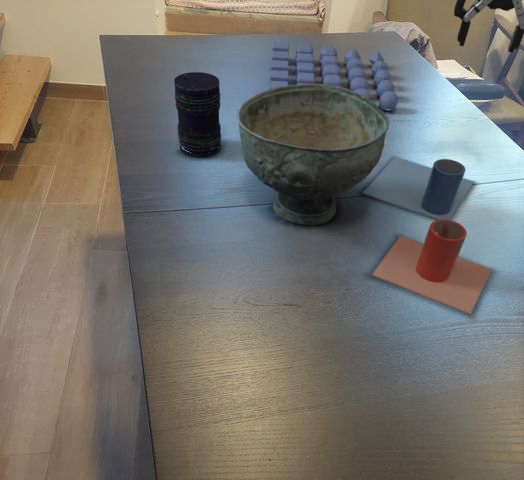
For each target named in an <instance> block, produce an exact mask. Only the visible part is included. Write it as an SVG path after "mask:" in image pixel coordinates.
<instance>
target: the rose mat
mask: <svg viewBox="0 0 524 480" xmlns="http://www.w3.org/2000/svg"><path fill="white" fill-rule="evenodd" d="M423 244H424V243H423V242H422V243H421V242H419V241H416V240H414V239H410V238H408V237H405V236H403V235H399V237H398V238H397V240H396V241H395V243H394V244H393V245H392V246H391V248H390V249H389V251H388V252H387V254H386V255H385V256H384V257H383V259H382V260H381V262H380V263H379V264H378V266H377V267H376V268H375V270H374V271H373V273H372V274H371V277H374V278H377V279H379V280H381V281H384V282H386V283H389V284H391V285H394V286H396V287H399V288H402V289H404V290H406V291H409V292H412V293H414V294H416V295H419V296H422V297H424V298H427V299H429V300H431V301H434V302H437V303H439V304H441V305H444V306H446V307H449V308H450V309H454V310H457V311H459V312H461V313H463V314H466V315H469V316H470V315H472V312H473V310H474V308H475V306H476V304H477V302H478V300H479V297H480V295H481V293H482V291H483V290H484V288H485V285H486V283H487V281H488V279H489V277H490V274H491V273H492V271H493V269H492V268H490V267H487V266H485V265H483V264H482V265H481V264H479V263H476V262H474V261H472V260H469V259H465V258H463V257H460V256H458V257H457V260H456V262H455V265H454V267H453V270H452V272H451V274H450V277H449V278H448V279H447V280H446V281H443V282H431V281H428V280H425V279H423V278H422V277H420V276H419V275H418V274H417V272H416V264H417V262H418V259H419V256H420V253H421V250H422V247H423Z"/></svg>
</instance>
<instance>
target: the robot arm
mask: <svg viewBox="0 0 524 480" xmlns="http://www.w3.org/2000/svg"><path fill="white" fill-rule="evenodd" d="M522 1H523V0H475V1H474V2H473V3H472V4H471V5H470V6H469V7H468V8H467V9H466V8H464V7H465V4H466V2H467V0H456V2H455V4H454V8H453V15H454V17H456V18H459V19H460V20H461V23H460V26H459V30H458V33H457V42H458V43H459V47H464V46H465V44H466V41H467V37H468V33H469V30H470V27H471V20H472V19H473V18H474V17H475V16H477V14H479V13H480V12H482V11H483V10H484V9H485V8H486V7H487V8H489V10H502V11H504V12H509V11H511V10H513V9H514V12H515V15H516V19H517V22H518V24H516V25H515V28H514V30H513V34H512V36H511V38H510V41H509V44H508V48H507V51H508V53H514V51H515V50H518V49H519V47H520V45H521V42H522V40H523V38H524V5H523V2H522Z"/></svg>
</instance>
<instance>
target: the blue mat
mask: <svg viewBox="0 0 524 480" xmlns="http://www.w3.org/2000/svg"><path fill="white" fill-rule="evenodd" d="M431 171H432V167H430V166H426V165H423V164H420V163H416V162H413V161H410V160H407V159H404V158H401V157H398V156H395V157H393V159H392V160H391V161H390V162H389V163H388V165H386V167H385V168H384V169H383V170H382V171H381V172H380V173H379V174H378V175H377V176H376V177H375V179H374V180H372V182H371V183H370V184H369V185H368V186H367V187H366V188H365V190H364V191H363V192H362V195H364V196H367V197H369V198H372V199H376V200H377V201H380V202H384V203H387V204H389V205H393V206H396V207H399V208H402V209H404V210H407V211H410V212H414V213H416V214H418V215H422V216H425V217H427V218H430V219H432V220H439V219H447V220H452V218H453V217H454V215H455V214H456V212H457V210H458V209H459V207H460V206H461V204H462V202H463V201H464V200H465V198H466V196H467V195H468V194H469V192H470V191H471V189H472V187H473V186H474V185H475V181H474V180H470V179H467V178H464V177H463V179H462V181H461V184H460V187H459V189H458V192H457V195H456V198H455V200H454V203H453V206H452V208H451V211H450V212H449V213H448V214H445V215H435V214H431V213H429V212H427V211H425V210H424V209H423V208H422V206H421V202H422V199H423V196H424V193H425V190H426V186H427V183H428V180H429V177H430V174H431Z"/></svg>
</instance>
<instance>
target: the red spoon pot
mask: <svg viewBox="0 0 524 480" xmlns="http://www.w3.org/2000/svg"><path fill="white" fill-rule="evenodd" d="M467 235H468V231H467V229H466V228H465V226H463V225H462V224H461V223H459V222H457V221H455V220H452V219H451V220H447V219H439V220H436V219H434V220H433V221H432V222H430V224H429V227H428V229H427V233H426V235H425V238H424V241H423V243H422V244H423V247H422V250H421V253H420V256H419V259H418V262H417V264H416V272H417V274H418V275H419V276H420V277H422V278H423V279H425V280H428V281H431V282H443V281H446V280H447V279H448V278H449V277H450V274H451V272H452V270H453V267H454V265H455V262H456V260H457V257H459V255H460V252H461V250H462V247H463V245H464V243H465V240H466V238H467Z"/></svg>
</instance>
